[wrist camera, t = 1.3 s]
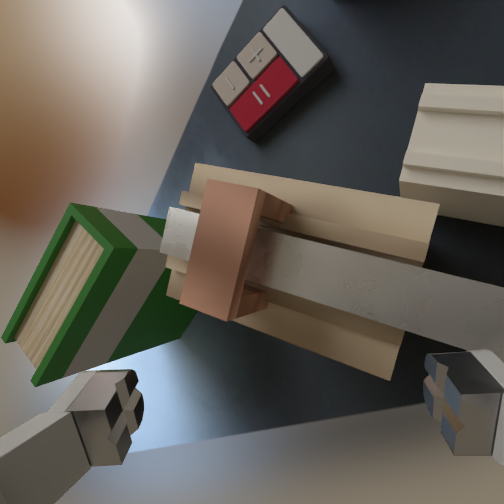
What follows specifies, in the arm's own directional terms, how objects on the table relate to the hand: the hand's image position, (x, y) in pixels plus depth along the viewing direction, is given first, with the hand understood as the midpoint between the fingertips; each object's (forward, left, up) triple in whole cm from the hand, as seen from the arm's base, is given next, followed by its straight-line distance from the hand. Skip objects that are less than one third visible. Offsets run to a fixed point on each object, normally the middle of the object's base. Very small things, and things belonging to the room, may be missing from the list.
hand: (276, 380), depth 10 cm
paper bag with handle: (-2, -5, -37) cm, 38 cm away
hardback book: (+8, -28, -38) cm, 47 cm away
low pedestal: (-14, +7, -37) cm, 41 cm away
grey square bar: (-2, 0, -11) cm, 12 cm away
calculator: (-25, -22, -38) cm, 51 cm away
